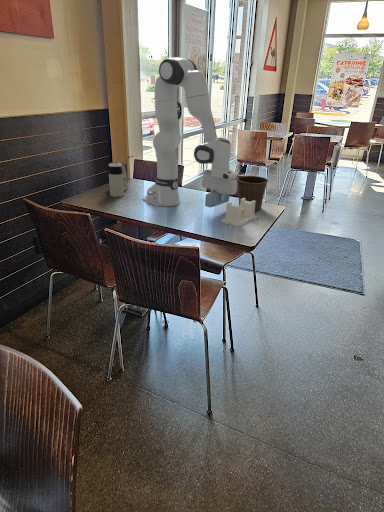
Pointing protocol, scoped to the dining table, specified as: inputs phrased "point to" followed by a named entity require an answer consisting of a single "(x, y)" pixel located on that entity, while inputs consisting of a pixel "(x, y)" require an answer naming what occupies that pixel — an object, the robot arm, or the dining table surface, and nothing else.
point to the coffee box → (124, 174)
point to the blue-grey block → (215, 199)
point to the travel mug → (116, 180)
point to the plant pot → (252, 189)
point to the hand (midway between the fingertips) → (217, 199)
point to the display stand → (240, 213)
